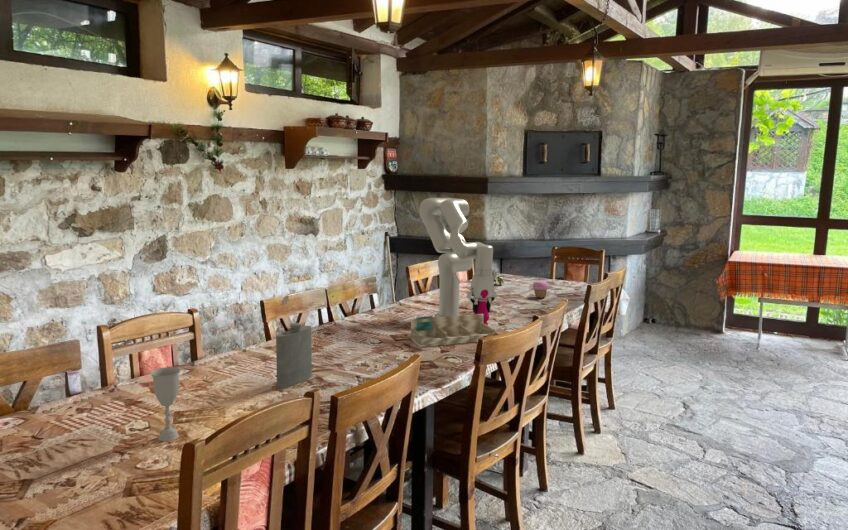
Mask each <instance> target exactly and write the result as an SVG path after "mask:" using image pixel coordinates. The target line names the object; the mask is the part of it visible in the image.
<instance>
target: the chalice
mask: <svg viewBox="0 0 848 530" xmlns="http://www.w3.org/2000/svg"><path fill="white" fill-rule="evenodd" d="M180 372H181V368H179V367H177V366H176V367H175V366H173V367H172V366H167V367H160V368H157V369H154V370H152V371H151V372H150V375H151V377H152V382H153V386H152V387H153V393H154V395H155V397H156V399H157V401H158V403H160V406H162V407H165V409H164V415H165V418H164V419H163V421H164V422H165V426H164V427H163V428H162V429H161V430H160V433H159V436H158V441H161V442H170V441H175V440H177V439H178V438H179V436H180V435H179V433H178V431H177V429H176V428H175V427H174V426H172V425H171V421H172V418H171V417H170V415H171V413H172V412H171V410H170V406H172V405H173V404H174V402H175V399H176V398H177V395H178V392H179V389H180V382H179V374H180Z"/></svg>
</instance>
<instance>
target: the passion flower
mask: <svg viewBox="0 0 848 530" xmlns="http://www.w3.org/2000/svg"><path fill="white" fill-rule="evenodd" d="M492 269H493V270H494V273H492V276H493V280H494V284H496V283H497V282H498V285H499V286H502V284H504V279H505V276H504V275H500V273H501V272H500V271H496V268H492ZM501 277H502V278H503V279H502V278H501Z"/></svg>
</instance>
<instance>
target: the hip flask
mask: <svg viewBox="0 0 848 530" xmlns="http://www.w3.org/2000/svg"><path fill="white" fill-rule="evenodd" d="M289 327H290V329H289V330H287V331H284V332H282V333H277V334H276V335H275V341H276V342H275V346H276V347H275V348H276V349H275V352H276V388H277V389H279V390H285V389H288V388H290V387H294V386H296V385H299V384H301V383H304V382H306V381H307V380H308V379H310V378H312V377H313V375H312V374H313V373H312V369H313V367H312V366H313V365H312V361H313V360H312V355H313V354H312V353H313V351H312V326H311V325H303V326H302V323H300V322H293V323H290V324H289Z"/></svg>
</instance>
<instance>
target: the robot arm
mask: <svg viewBox="0 0 848 530" xmlns="http://www.w3.org/2000/svg"><path fill="white" fill-rule="evenodd" d="M469 213H470V205H469V203H468V201H467V200H465V199H463V198H454V197H429V198H425V199H423V200H422V202H420V205H419V214H420V215H419V216H420V219H421V221H422V223H423V225H424V226H425V228H426V229H427V233H428V235H429V237H430V240H431V242H432V245H433V248H434V249H435V251H436V252H437V253H440V254H441V255H440V256H439V257H438V260H437V266H438V267H437V268H438V273H439V274H438V275H439V276H438V277H439V288H438V289H439V291H438V293H439V295H438V297H439V298H438V299H439V301H438V313H437V314H435V317H448V316H461V315H462V314H461V313H459V311H460V279H459V277H458V275H457V273H460V272H467V271H470V270H471V269H472V268H473V265H475V266H474V274H473V275H472V278H471V282H470V290H469V292H468V293H467V295H466V298H467V299H468V300H469V302H471V304H472V312H473V314H474V313H477V312H478V305H477V302H478V299H479V298H482V296H481V295H480V294H481V291H482V290H488V293H489V294H488V296H486V298H487V299H488V300H487V301H486V307H487V310H488V313H490V312H491V311H490V310H491V304H492V303H493V301H494V300H495V299H496V298H497V297H498V293H497V292H496V291H495V281H494V280H493V276H492V273H494V270H493V269H494V268H493V258H494V257H493V256H494V247H493V246H492V245H490V244H485V243H483V242H480V241H474V242H473V241H471V242H470V241H469V242H467V241H466V239H465V238H464V236H463V235H462V234H461V233H463V232H464V231H466V230H467V228H468V225H469V222H468V220H467V219H466V217H467V216H468V214H469ZM438 216H443V218H444V221H445V222H446V223H447V226H448V227H449V228H450V230H451V232H449V231H447V228H446V226H445V224H444V222H443V221H442V220H441V219H440V218H439V217H438ZM474 260H475V264H474Z"/></svg>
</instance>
